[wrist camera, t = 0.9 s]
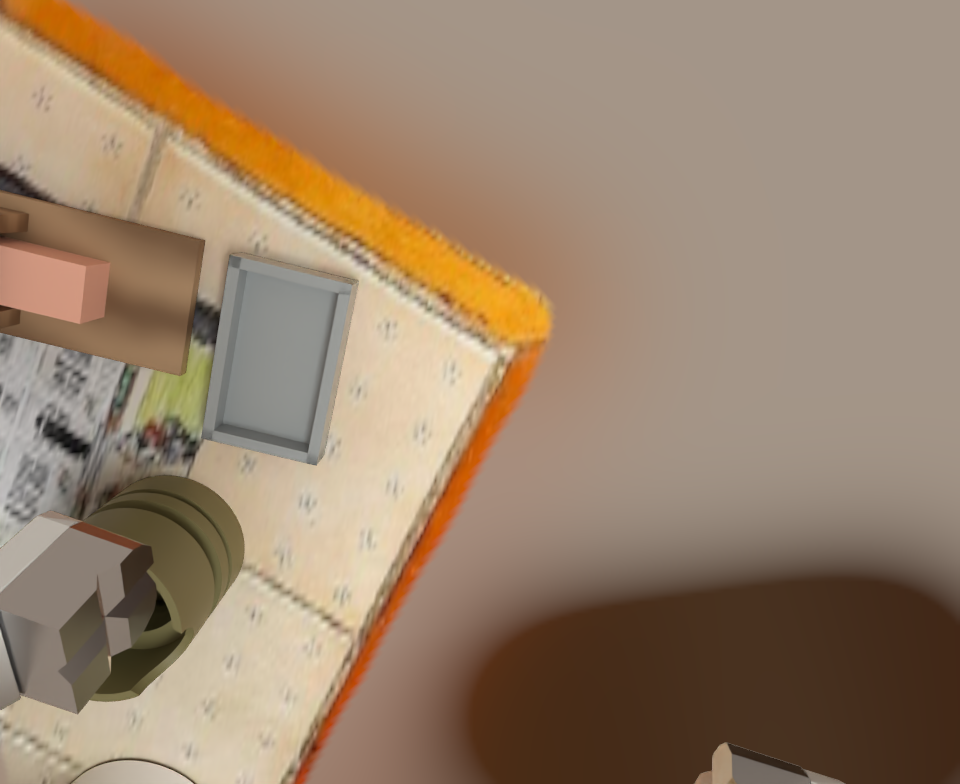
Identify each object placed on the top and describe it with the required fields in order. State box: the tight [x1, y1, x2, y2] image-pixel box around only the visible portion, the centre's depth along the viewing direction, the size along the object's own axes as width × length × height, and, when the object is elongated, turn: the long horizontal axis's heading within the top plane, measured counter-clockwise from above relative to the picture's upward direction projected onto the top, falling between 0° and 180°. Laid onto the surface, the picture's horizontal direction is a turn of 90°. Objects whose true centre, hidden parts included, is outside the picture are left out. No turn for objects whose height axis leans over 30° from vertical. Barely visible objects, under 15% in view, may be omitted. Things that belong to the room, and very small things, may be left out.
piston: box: [83, 475, 244, 702], centre depth 54 cm, size 11×12×11 cm
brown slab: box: [0, 190, 205, 376], centre depth 51 cm, size 10×22×6 cm, turn 76°
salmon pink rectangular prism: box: [0, 236, 110, 324], centre depth 52 cm, size 4×10×3 cm, turn 76°
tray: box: [201, 252, 359, 466], centre depth 54 cm, size 14×9×2 cm, turn 166°
